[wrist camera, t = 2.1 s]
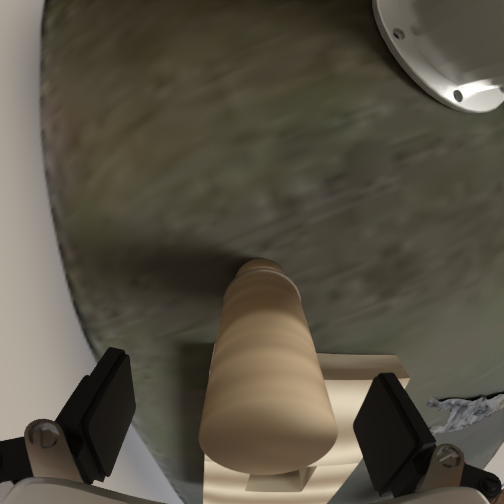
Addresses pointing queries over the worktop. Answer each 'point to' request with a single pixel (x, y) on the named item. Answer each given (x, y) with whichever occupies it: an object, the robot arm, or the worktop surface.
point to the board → (328, 467)
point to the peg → (265, 380)
